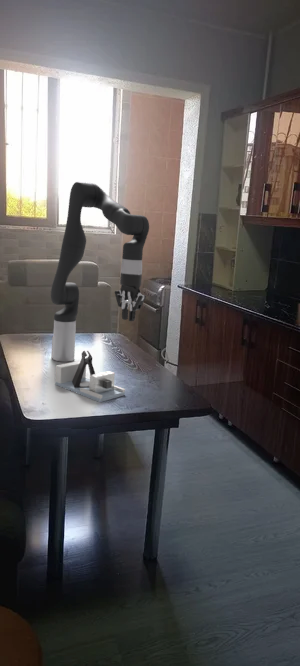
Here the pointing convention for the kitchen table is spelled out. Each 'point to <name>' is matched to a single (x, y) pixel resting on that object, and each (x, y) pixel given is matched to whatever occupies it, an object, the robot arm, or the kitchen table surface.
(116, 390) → the vise body
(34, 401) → the kitchen table surface
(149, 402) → the kitchen table surface
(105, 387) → the block
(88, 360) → the phone stand
